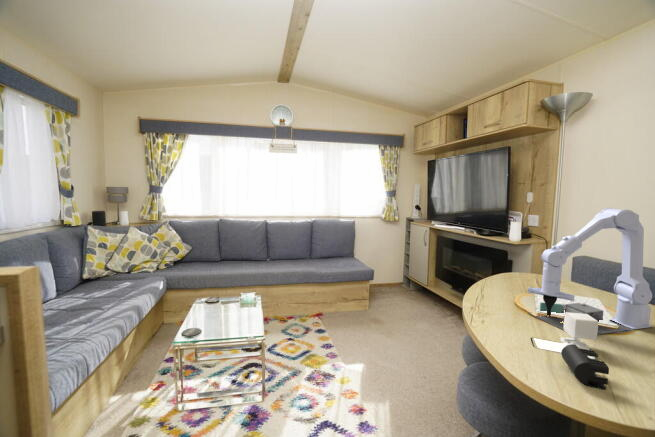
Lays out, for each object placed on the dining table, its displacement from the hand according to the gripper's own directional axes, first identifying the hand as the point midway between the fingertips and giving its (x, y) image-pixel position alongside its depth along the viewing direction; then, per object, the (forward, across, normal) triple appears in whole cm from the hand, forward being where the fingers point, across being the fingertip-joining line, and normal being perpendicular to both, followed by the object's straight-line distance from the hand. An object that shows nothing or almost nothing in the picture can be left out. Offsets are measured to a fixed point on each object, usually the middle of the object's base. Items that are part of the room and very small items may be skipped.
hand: (548, 314), depth 119 cm
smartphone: (+2, -5, +24) cm, 25 cm away
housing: (+1, -10, -6) cm, 12 cm away
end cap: (+2, -10, +39) cm, 41 cm away
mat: (+2, -8, -4) cm, 9 cm away
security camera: (+2, -9, +19) cm, 21 cm away
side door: (+1, -1, -4) cm, 4 cm away
